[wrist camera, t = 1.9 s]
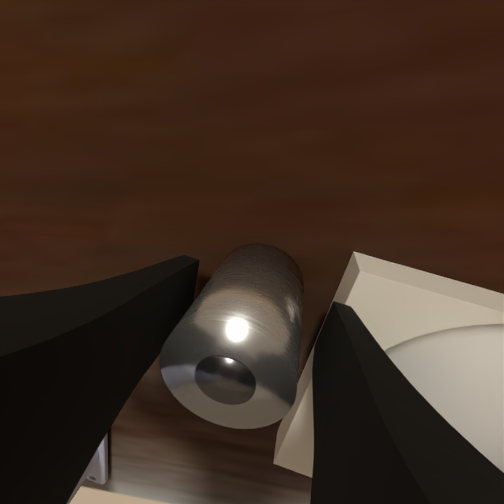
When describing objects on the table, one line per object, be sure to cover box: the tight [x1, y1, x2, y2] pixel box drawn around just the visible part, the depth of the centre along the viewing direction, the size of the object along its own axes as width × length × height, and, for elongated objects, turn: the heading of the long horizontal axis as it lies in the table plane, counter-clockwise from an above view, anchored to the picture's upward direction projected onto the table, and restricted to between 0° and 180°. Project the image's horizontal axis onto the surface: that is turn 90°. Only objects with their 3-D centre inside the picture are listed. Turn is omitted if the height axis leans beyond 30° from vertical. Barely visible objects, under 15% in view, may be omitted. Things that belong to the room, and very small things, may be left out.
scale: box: [273, 252, 504, 478], centre depth 11 cm, size 12×11×2 cm
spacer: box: [160, 243, 304, 429], centre depth 9 cm, size 4×4×5 cm
